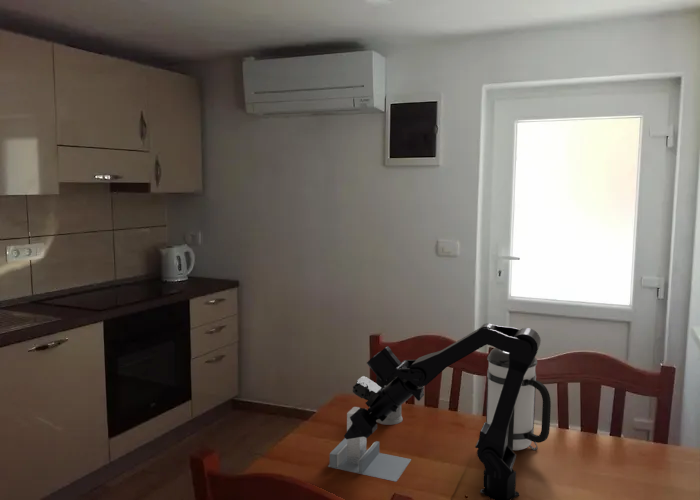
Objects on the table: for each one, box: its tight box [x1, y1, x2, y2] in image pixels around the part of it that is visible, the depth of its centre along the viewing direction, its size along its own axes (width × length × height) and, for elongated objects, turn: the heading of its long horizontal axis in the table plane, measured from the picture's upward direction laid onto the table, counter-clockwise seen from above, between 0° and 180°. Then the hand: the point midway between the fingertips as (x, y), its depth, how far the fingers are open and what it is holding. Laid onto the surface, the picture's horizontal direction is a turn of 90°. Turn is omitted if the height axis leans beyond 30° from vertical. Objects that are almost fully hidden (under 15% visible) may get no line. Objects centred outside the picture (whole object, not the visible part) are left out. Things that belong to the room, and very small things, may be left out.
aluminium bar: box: [346, 406, 368, 465], centre depth 146 cm, size 4×4×13 cm
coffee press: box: [485, 347, 552, 452], centre depth 154 cm, size 17×16×30 cm
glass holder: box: [375, 374, 403, 426], centre depth 171 cm, size 9×14×15 cm, turn 4°
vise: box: [327, 437, 412, 483], centre depth 145 cm, size 18×12×4 cm, turn 67°
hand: (352, 430), depth 146 cm, fingers open, 9 cm apart
